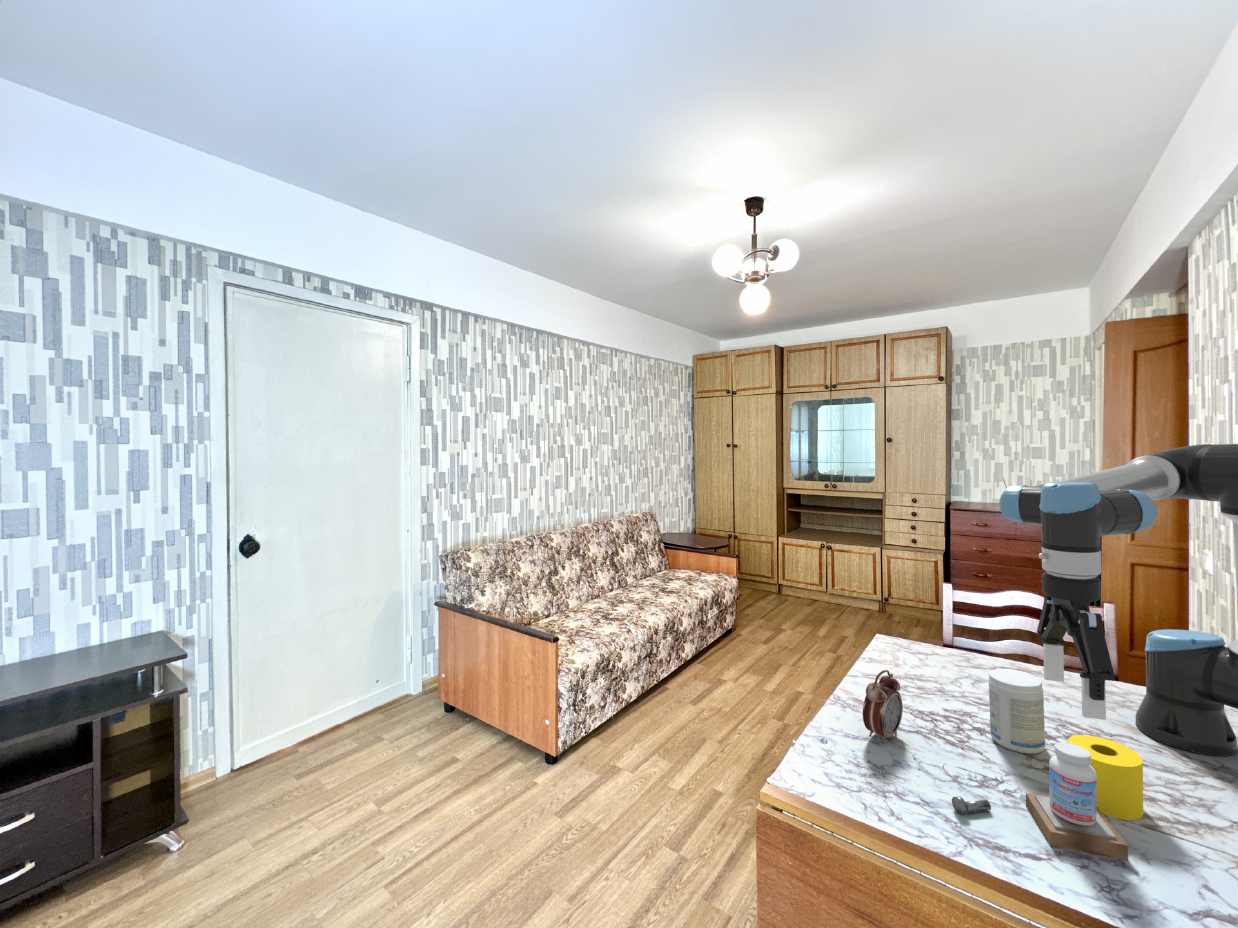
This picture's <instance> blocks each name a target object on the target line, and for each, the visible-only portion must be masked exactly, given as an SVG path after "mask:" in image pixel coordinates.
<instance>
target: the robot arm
mask: <svg viewBox="0 0 1238 928" xmlns="http://www.w3.org/2000/svg"><path fill="white" fill-rule="evenodd" d="M1165 499H1184V500H1198V501H1206V502H1207V501H1208V502H1219V508H1220V514H1222V515H1223V516H1225V517H1226V518H1227V519H1229V520H1231V521H1232V531H1233V548H1234V566H1235V584H1236V603H1237V607H1238V443H1226V444H1225V443H1222V444H1221V443H1219V444H1215V443H1214V444H1211V443H1210V444H1209V443H1206V444H1205V443H1204V444H1194V445H1186V446H1180V447H1176V448H1170V449H1166V450H1161V451H1158V452H1155V453H1149V454H1145V455H1141V456H1137V457H1134V458H1133V459H1131V460H1130V461H1129V462H1127V464H1125V465H1120V466H1116V467H1112V468H1108V469H1107V468H1106V469H1103V470H1100V471H1095V472H1091V473H1086V474H1083V475H1082V474H1081V475H1079V476H1074V477H1070V478H1067V479H1061V480H1057V481H1053V482H1046V483H1044V484H1039V485H1027V484H1022V485H1010V486H1008V487H1007V488H1006V489H1004V490H1003V492H1002V493H1001V495H1000V496H999V510H1000V512H1001V514H1002V516H1003V517H1004V518H1005V519H1007V520H1008V521H1011V522H1015V523H1022V524H1023V525H1034V526H1035V525H1036V526H1040V528H1041V531H1040V532H1041V542H1040V543H1041V553H1038V558H1039V559H1040V560H1041V569H1043V570H1044V571H1043V573H1041V592H1042V593H1043V605H1042V608H1041V613H1040V617H1039V621H1038V624H1037V629H1036V633H1037V635H1038V636H1041V637H1040V638H1041V639H1040V640H1041V641H1042V643H1043V644H1042V645H1043V679H1044V680H1045V681H1053V682H1061V683H1062V682H1065V668H1064V667H1065V664H1064V663H1065V661H1064V659H1065V658H1064V656H1065V655H1064V644H1066V642H1065V640H1064V636H1065V635H1066V634H1067V635H1068V636H1070V637H1071V638H1072V640H1073V643H1074V646H1075V649H1076V652H1077V654H1078V658H1079V661H1080V663H1081V667H1082V670H1083V672H1082V673H1080V674H1079V677H1080V678H1081V679H1080V680H1081V681H1080V682H1081V715H1082V717H1083V718H1084V719H1085V718H1088V719H1094V720H1105V721H1107V707H1106V706H1107V704H1106V703H1107V702H1106V701H1107V700H1106V699H1107V698H1106V697H1107V696H1106V693H1107V692H1106V691H1107V690H1106V681H1110V682H1111V681H1112V682H1115V680H1116V676H1115V673H1114V669H1113V663H1112V660H1111V656H1110V655H1111V654H1110V652H1109V651H1110V650H1109V647H1108V645H1107V640H1106V636H1105V633H1104V626H1103V616H1102V614H1101V613H1097V612H1096V613H1095V612H1094V613H1093V612H1091V610H1090V604H1091V603H1092V602H1093V603H1094V602H1097V601H1100V599H1101V598H1102V585H1101V584H1102V583H1101V582H1102V580H1101V578H1100V577H1099V575H1101V574H1102V550H1101V537H1102V536H1112V535H1113V536H1115V535H1130V534H1135V533H1138V532H1143V531H1146V530H1147V529H1149V528H1150V527H1152V525H1154V524H1155V522H1156V520H1157V519H1158V508H1157V505H1156V504H1155V502H1154V501H1161V500H1165ZM1145 640H1146V641H1145V647H1144V651H1145V681H1146V682H1145V687H1146V688H1145V689H1146V690H1145V692H1146V693H1145V695H1144V697H1143V699H1142V701H1141V704H1140V705H1139V707H1138V709H1137V711H1136V713H1135V726H1136V728H1137V729H1138V730H1139V731H1141V733H1143V734H1145V735H1146V736H1148V737H1150V738H1152V739H1154V740H1156V741H1158V742H1160V743H1163V744H1165V745H1168V746H1171V747H1174V748H1176V749H1179V750H1184V751H1186V752H1187V751H1188V752H1191V753H1196V754H1200V755H1201V754H1202V755H1207V756H1215V757H1216V756H1217V757H1225V756H1232V755H1235V754H1236V753H1238V739H1237V737H1236V736H1237V735H1236V734H1235V732H1234V729H1233V727H1232V725H1231V723H1230V721H1229V719H1228V716H1227V714H1226V712H1225V711H1226V710H1225V706H1226V707H1230V708H1233V709H1236V710H1238V638H1237V639H1235V640H1234V641H1231V642H1230V643H1228V645H1227V646H1225V645H1226V644H1227V643H1226V641H1225V639H1224V638H1223V637H1222V636H1219V635H1218V634H1214V633H1209V632H1204V631H1197V630H1196V631H1195V630H1188V629H1187V630H1186V629H1170V628H1169V629H1156V630H1152V631H1150V632H1148V634H1147V635H1146V639H1145ZM1062 644H1063V645H1062Z"/></svg>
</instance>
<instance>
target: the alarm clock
mask: <svg viewBox="0 0 1238 928" xmlns="http://www.w3.org/2000/svg"><path fill="white" fill-rule="evenodd" d="M885 673H887V675H883V674H885ZM881 675H883V676H881ZM880 676H881V677H880ZM879 677H880V678H879ZM900 690H901V684H900V682H899V680H898V679H896V678H894V674H893V673H890V671H889V670H887V669H885V670H884V669H883V670H882V671H880V672H879V673H877V675H876V676H875V680H874V682H870V683H868V684H867V685H866V687H865V696H864V701H863V707H862V719H863V724H864V726H865V729H866V730H868V731H870V732H869V734H868V737H870V738H871V737H872V735H873V734H875V735H878V736H881V743H880V744H882V745H885V739H886V738H892V737H893V736H895V735H896V734H898V730H899V727H900V725H901V723H902V718H903V712H904V711H903V706H904V705H903V700H902V695H901V693H900V692H899V691H900Z"/></svg>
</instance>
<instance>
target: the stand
mask: <svg viewBox="0 0 1238 928" xmlns="http://www.w3.org/2000/svg"><path fill="white" fill-rule="evenodd" d="M1025 807H1026V809H1027V811H1028V812H1029V814H1030V816H1031V817H1032V819H1033V820H1034V822H1035V823H1036V826H1037V827H1038V828H1039V830H1040V832H1041V833H1042V835H1043V837H1044V838H1045V840H1046V841H1047V843H1048V844H1049V845H1048V846H1049V847H1052V848H1057V849H1062V850H1068V851H1073V852H1078V853H1085V854H1089V855H1095V856H1100V857H1104V858H1111V859H1115V860H1122V861H1126V862H1129V845H1128V844H1127V841H1125V840H1124V838H1123V837H1122V836H1121V835H1120V833H1119V832H1118V831H1117V829H1115V827H1114V826H1113V824H1111V823H1110V821H1109V820H1108V819H1107V816H1106V815H1103V814H1102V813H1101V811H1100V810H1099V809H1098V808H1096V809H1097V810H1096V822H1095V824H1093V825H1090V826H1083V825H1078V824H1074V823H1071V822H1069V821H1066V820H1064V819H1063V818H1061V817H1059V816H1058V815H1057V814H1055V813H1054V812H1053V810H1052V809H1051V807H1050V795H1048V796H1047V795H1042V794H1037V793H1036V794H1034V793H1029V792H1025Z"/></svg>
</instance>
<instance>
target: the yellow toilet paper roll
mask: <svg viewBox="0 0 1238 928" xmlns="http://www.w3.org/2000/svg"><path fill="white" fill-rule="evenodd" d="M1067 743H1071V744H1075V745H1078V746H1080V747H1083V748H1084V749H1086V750H1087V751H1089V752H1090V754H1091V764H1090V765H1091V766H1092V767H1093V769H1094V770H1095V772H1096V775H1097V808H1098V809H1099V810H1100V811H1101V813H1102V814H1103V815H1104V816H1105V817H1110V818H1113V819H1119V820H1125V821H1133V820H1134V821H1135V820H1139V819H1142V817H1143V816H1144V759H1143V758H1142V756H1141V755H1140V754H1139V753H1138V752H1136V751H1135V750H1133V749H1132V748H1130V747H1128V746H1126V745H1124V744H1122V743H1119V742H1117V741H1113V740H1111V739H1108V738H1103V737H1099V736H1096V735H1095V736H1094V735H1087V734H1077V735H1071V736H1070V737H1069V738H1068V739H1067Z"/></svg>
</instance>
